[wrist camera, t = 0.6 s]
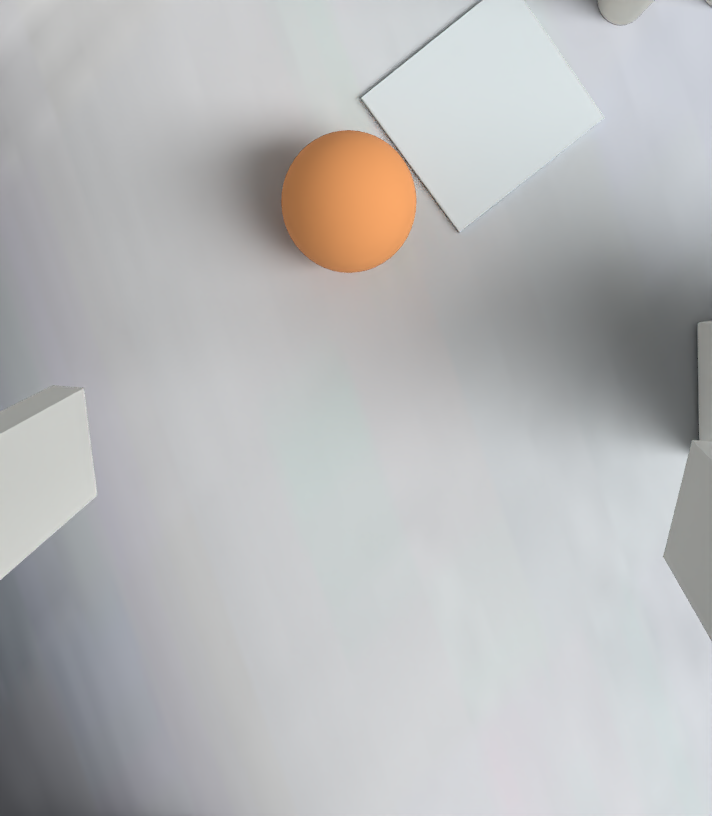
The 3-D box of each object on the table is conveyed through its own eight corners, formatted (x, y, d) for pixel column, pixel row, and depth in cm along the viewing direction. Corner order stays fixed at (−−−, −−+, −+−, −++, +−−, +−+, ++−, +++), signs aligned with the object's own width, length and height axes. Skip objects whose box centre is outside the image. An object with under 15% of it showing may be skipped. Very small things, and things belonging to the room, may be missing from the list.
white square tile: (459, 232, 31) (459, 232, 30) (361, 99, 30) (361, 97, 29) (602, 119, 30) (604, 117, 30) (508, -19, 29) (509, -22, 29)
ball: (336, 303, 31) (338, 294, 25) (261, 206, 30) (244, 172, 24) (431, 228, 30) (456, 201, 24) (357, 129, 30) (364, 75, 24)
